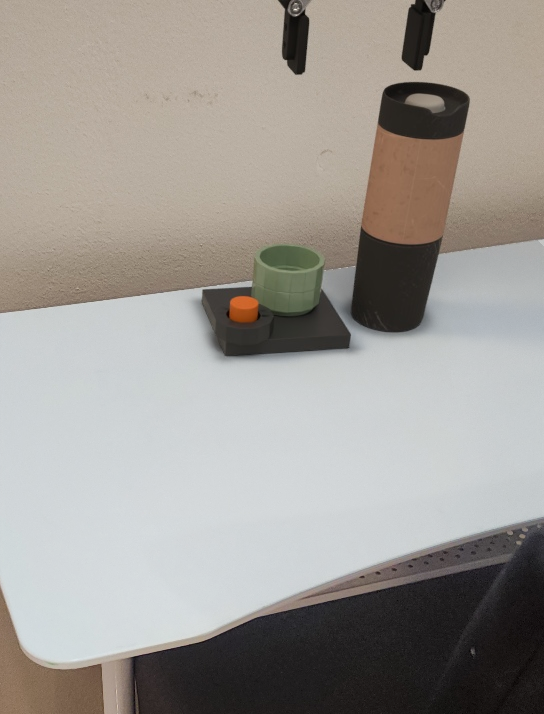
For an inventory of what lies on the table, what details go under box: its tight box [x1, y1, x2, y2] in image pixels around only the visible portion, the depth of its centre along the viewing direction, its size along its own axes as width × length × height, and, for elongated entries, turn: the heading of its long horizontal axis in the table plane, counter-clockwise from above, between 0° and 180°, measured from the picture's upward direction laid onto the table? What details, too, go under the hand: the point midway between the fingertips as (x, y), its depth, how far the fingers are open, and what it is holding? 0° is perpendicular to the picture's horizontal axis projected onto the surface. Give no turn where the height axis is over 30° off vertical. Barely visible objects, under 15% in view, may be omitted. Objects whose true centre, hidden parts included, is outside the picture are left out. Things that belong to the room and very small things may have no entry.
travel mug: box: [350, 81, 471, 333], centre depth 92 cm, size 8×8×20 cm
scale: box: [201, 286, 352, 357], centre depth 96 cm, size 13×12×3 cm
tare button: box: [229, 296, 259, 323], centre depth 91 cm, size 3×3×2 cm
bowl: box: [251, 242, 326, 316], centre depth 96 cm, size 7×7×4 cm
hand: (353, 68), depth 80 cm, fingers open, 9 cm apart
